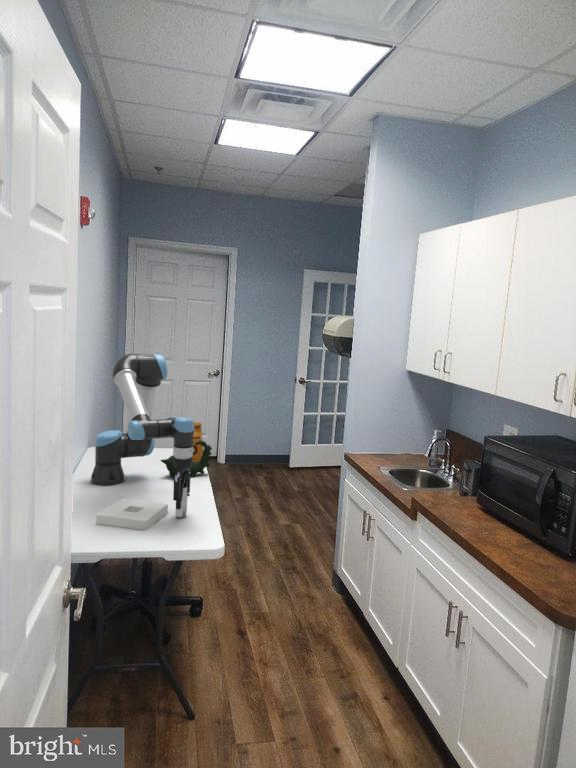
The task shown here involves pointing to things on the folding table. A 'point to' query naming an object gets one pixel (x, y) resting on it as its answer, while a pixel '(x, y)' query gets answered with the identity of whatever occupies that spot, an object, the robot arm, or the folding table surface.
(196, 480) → the folding table surface
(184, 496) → the steel pin
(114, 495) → the folding table surface
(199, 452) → the coffee package
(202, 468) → the toy figurine
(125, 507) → the socket block
